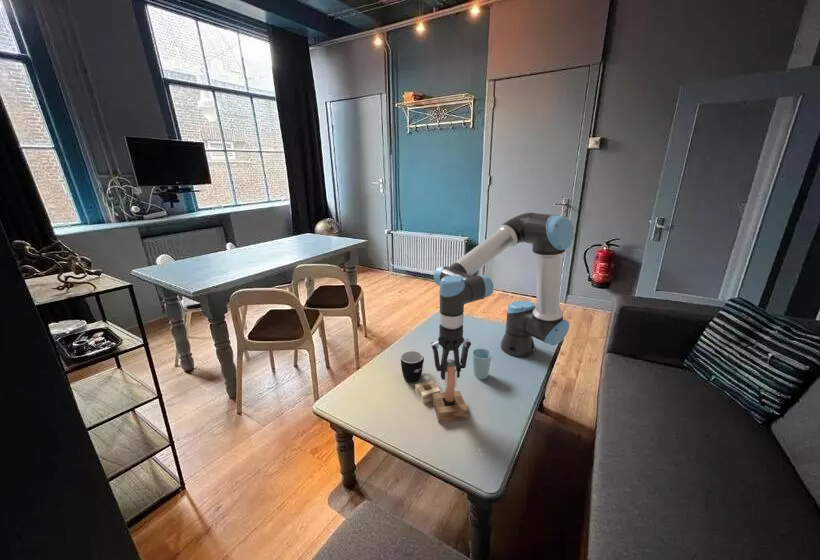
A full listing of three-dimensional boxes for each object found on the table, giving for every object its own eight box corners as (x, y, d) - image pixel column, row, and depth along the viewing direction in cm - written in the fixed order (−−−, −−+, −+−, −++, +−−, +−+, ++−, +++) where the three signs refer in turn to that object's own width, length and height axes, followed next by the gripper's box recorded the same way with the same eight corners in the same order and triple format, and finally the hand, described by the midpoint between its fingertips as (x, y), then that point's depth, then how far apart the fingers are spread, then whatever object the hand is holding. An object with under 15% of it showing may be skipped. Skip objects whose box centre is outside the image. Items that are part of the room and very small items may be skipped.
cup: (469, 369, 138) (470, 348, 134) (487, 369, 138) (489, 348, 134) (473, 381, 131) (474, 358, 127) (492, 380, 131) (493, 358, 127)
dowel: (452, 395, 115) (453, 358, 110) (455, 401, 112) (456, 363, 107) (444, 396, 114) (444, 359, 110) (446, 402, 112) (447, 364, 107)
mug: (414, 388, 127) (413, 365, 124) (396, 379, 133) (396, 358, 129) (431, 373, 136) (431, 352, 133) (414, 366, 141) (414, 345, 138)
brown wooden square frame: (459, 399, 120) (459, 390, 119) (467, 419, 111) (467, 409, 110) (432, 402, 119) (432, 393, 118) (438, 422, 110) (438, 413, 108)
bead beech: (431, 387, 127) (431, 379, 126) (440, 398, 121) (440, 390, 120) (415, 392, 125) (415, 384, 124) (423, 403, 119) (423, 395, 118)
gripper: (471, 317, 108) (468, 376, 116) (425, 320, 106) (425, 381, 114) (478, 327, 101) (475, 390, 109) (429, 331, 99) (429, 395, 107)
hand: (449, 385), depth 111 cm, fingers closed on dowel, 2 cm apart
